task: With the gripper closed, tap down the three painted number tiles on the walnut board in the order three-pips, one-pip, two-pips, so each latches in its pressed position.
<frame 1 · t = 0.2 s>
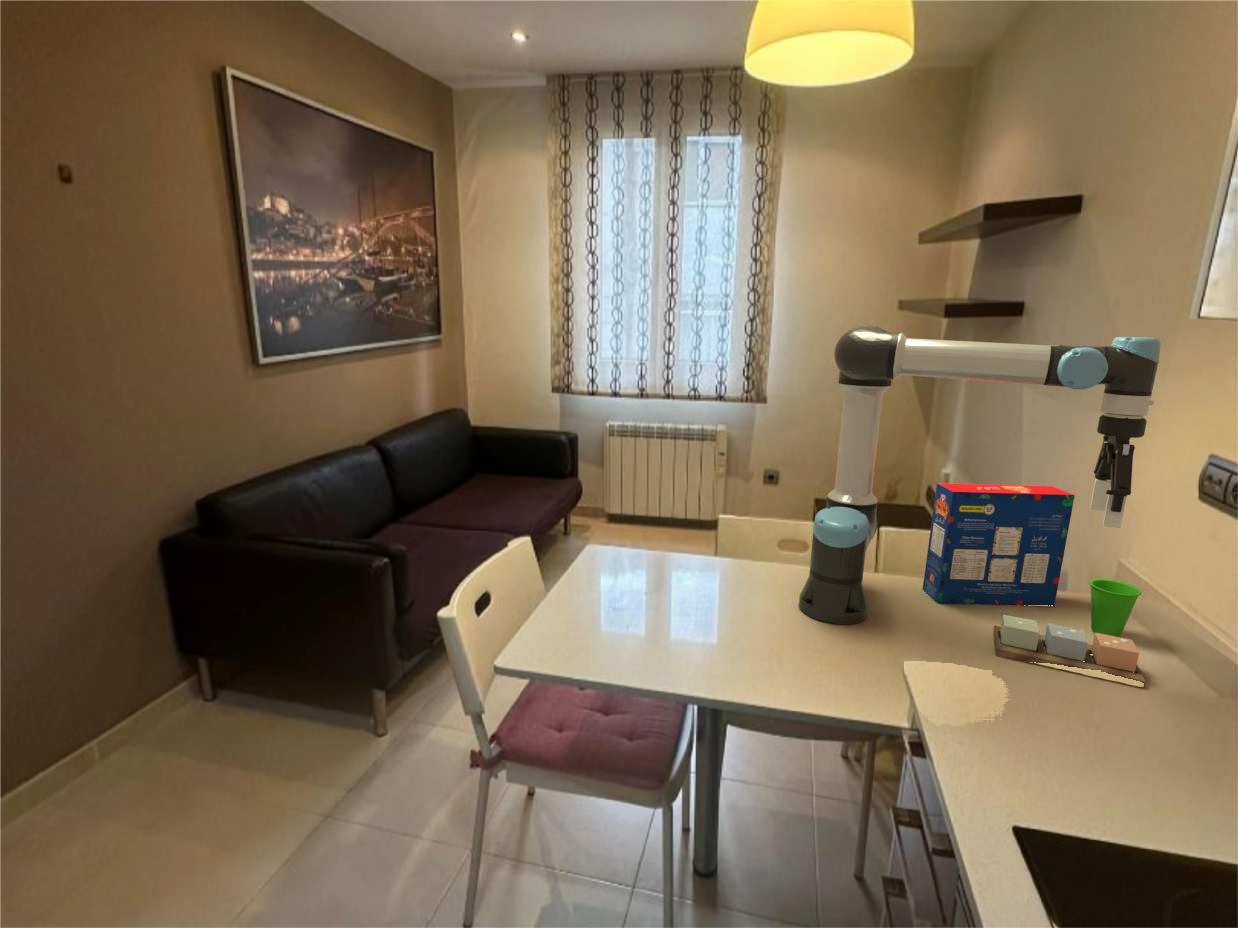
hand: (1104, 518, 132), 27 cm above the table, fingers open, 13 cm apart
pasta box: (986, 599, 158), on the table
cup: (1105, 633, 141), on the table
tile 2: (1065, 641, 129), point 4 cm above the table, slide at 0.0 cm
tile 1: (1019, 632, 132), point 4 cm above the table, slide at 0.0 cm
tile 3: (1114, 651, 125), point 4 cm above the table, slide at 0.0 cm
board: (1062, 657, 130), on the table
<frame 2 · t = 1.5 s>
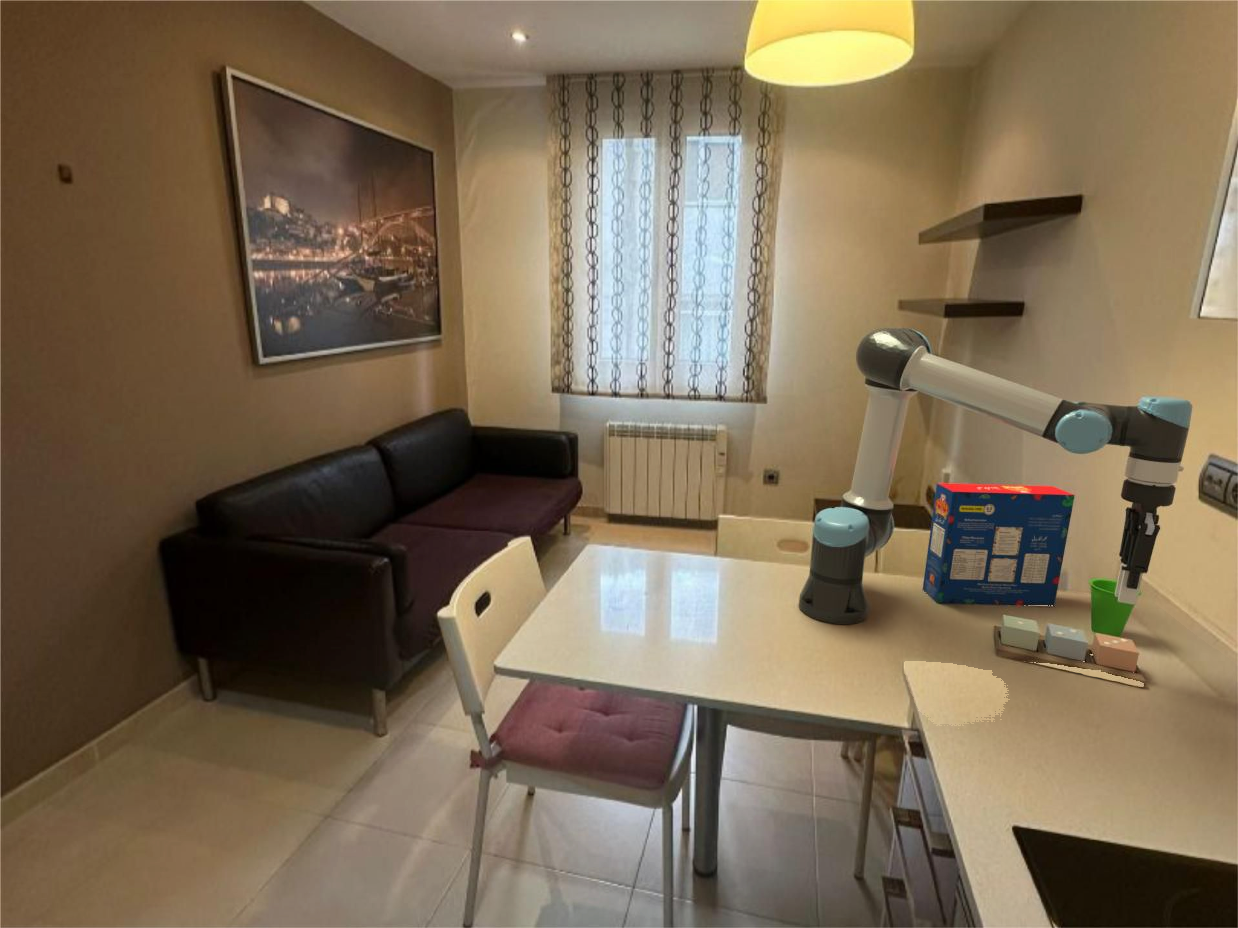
hand: (1125, 599, 123), 14 cm above the table, fingers open, 2 cm apart
nothing on the table moved.
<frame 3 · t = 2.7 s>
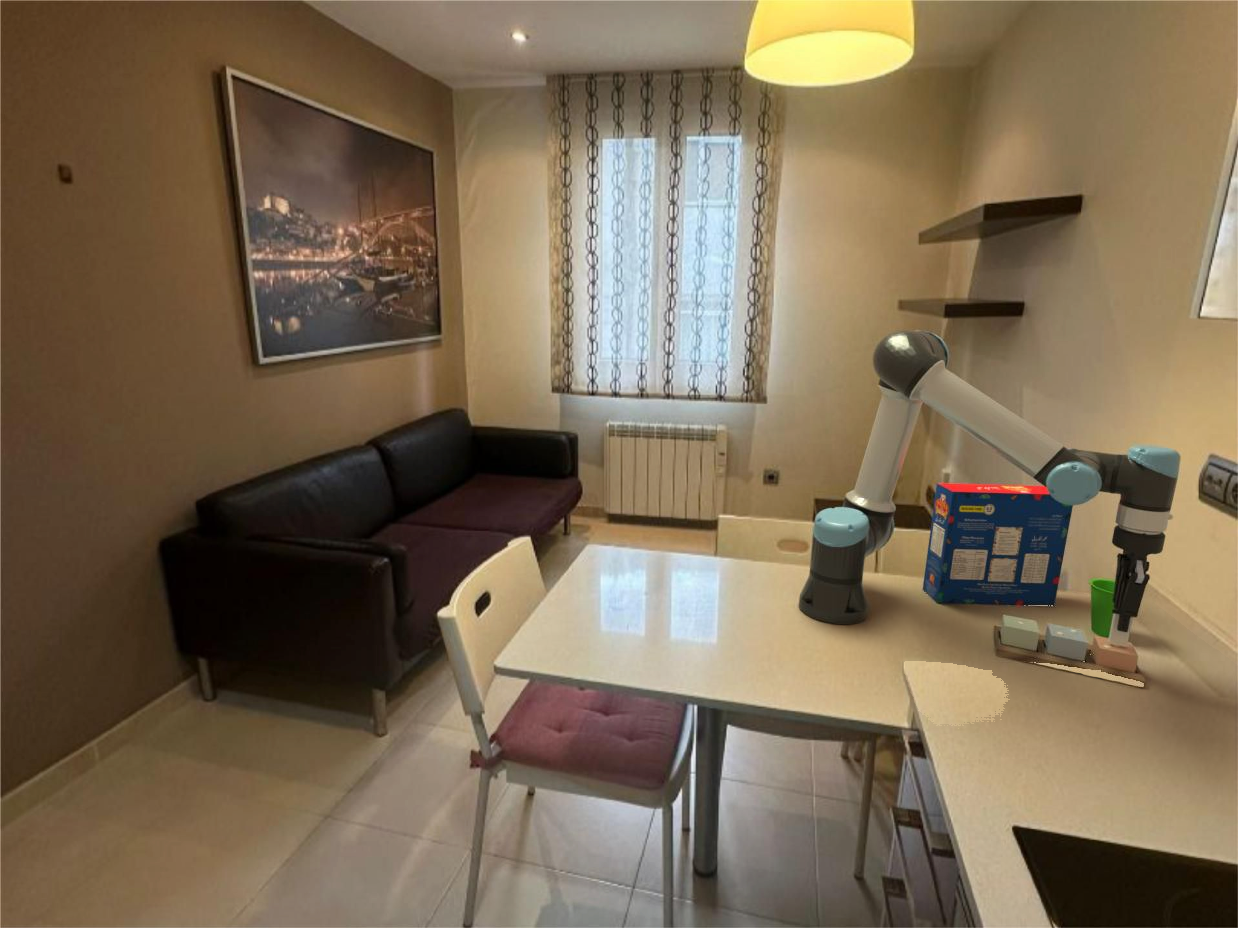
hand: (1117, 643, 125), 5 cm above the table, fingers closed
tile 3: (1113, 654, 125), point 3 cm above the table, slide at 0.6 cm, touching gripper
everything else where it was.
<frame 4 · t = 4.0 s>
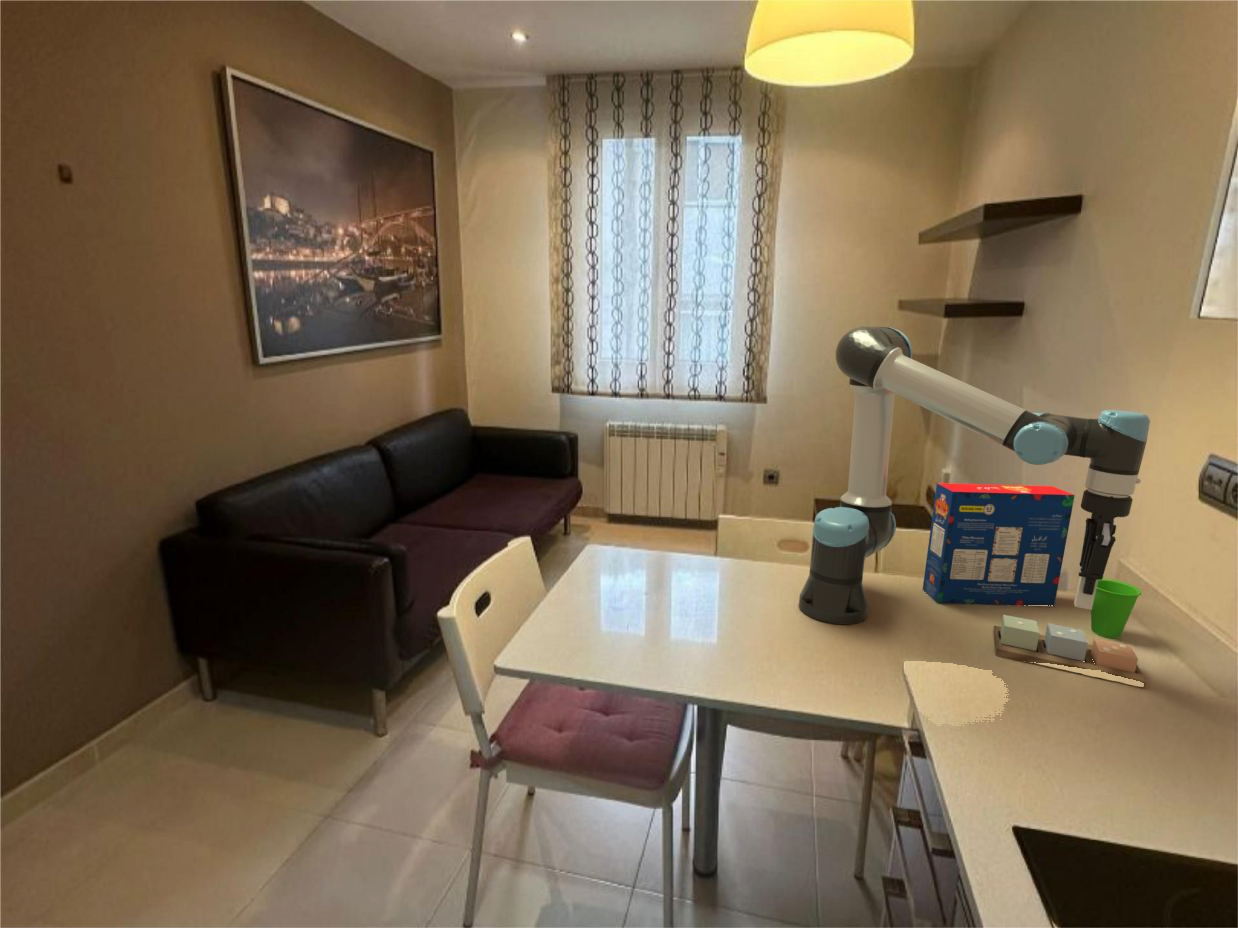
hand: (1082, 606, 127), 11 cm above the table, fingers closed
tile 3: (1113, 657, 126), point 2 cm above the table, slide at 1.2 cm
everything else where it was.
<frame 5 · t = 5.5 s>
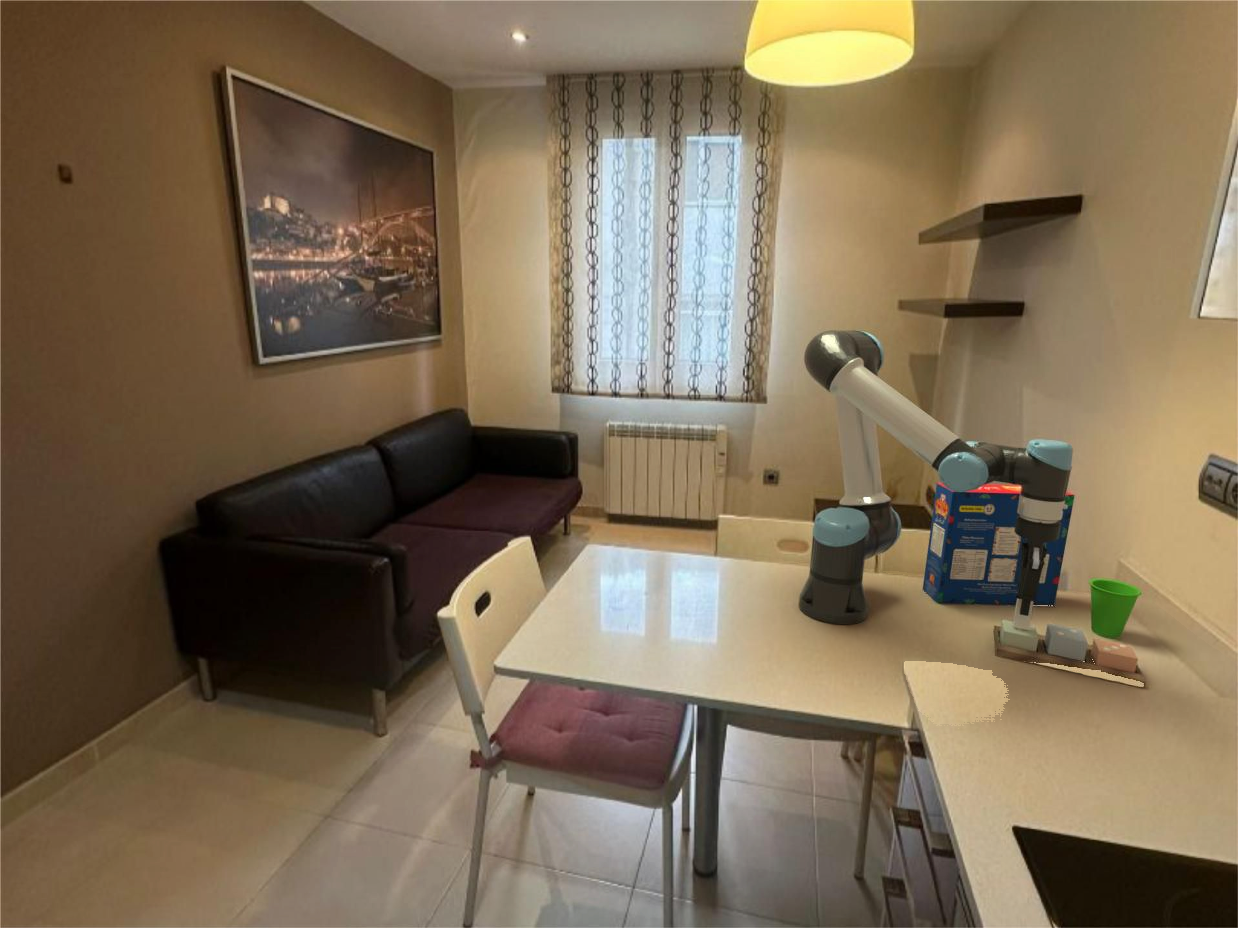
hand: (1020, 627, 132), 5 cm above the table, fingers closed
tile 1: (1018, 637, 133), point 2 cm above the table, slide at 1.2 cm, touching gripper
everything else where it was.
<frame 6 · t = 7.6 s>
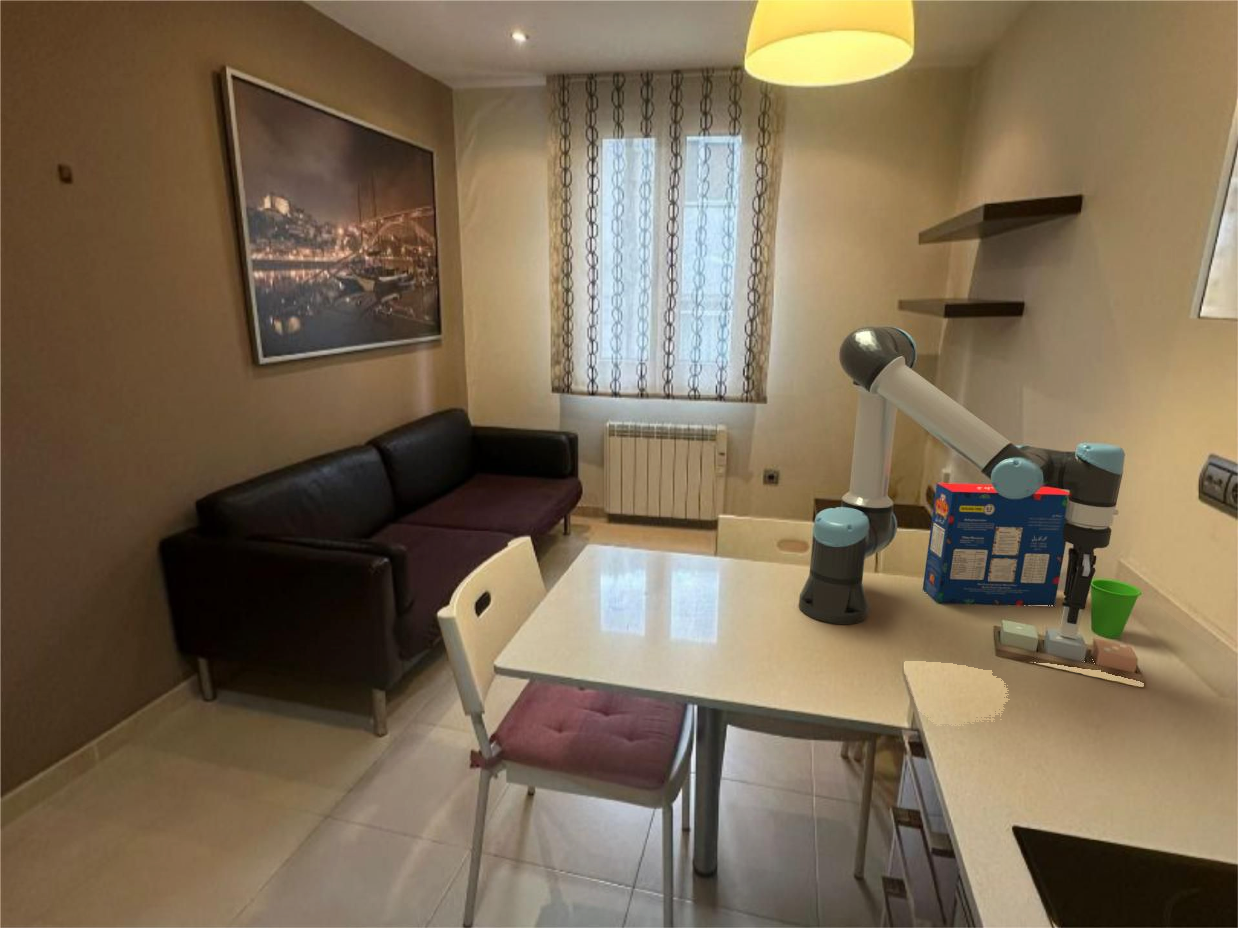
hand: (1067, 635, 128), 5 cm above the table, fingers closed
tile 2: (1064, 646, 129), point 3 cm above the table, slide at 1.0 cm, touching gripper
tile 1: (1018, 637, 133), point 2 cm above the table, slide at 1.2 cm
everything else where it was.
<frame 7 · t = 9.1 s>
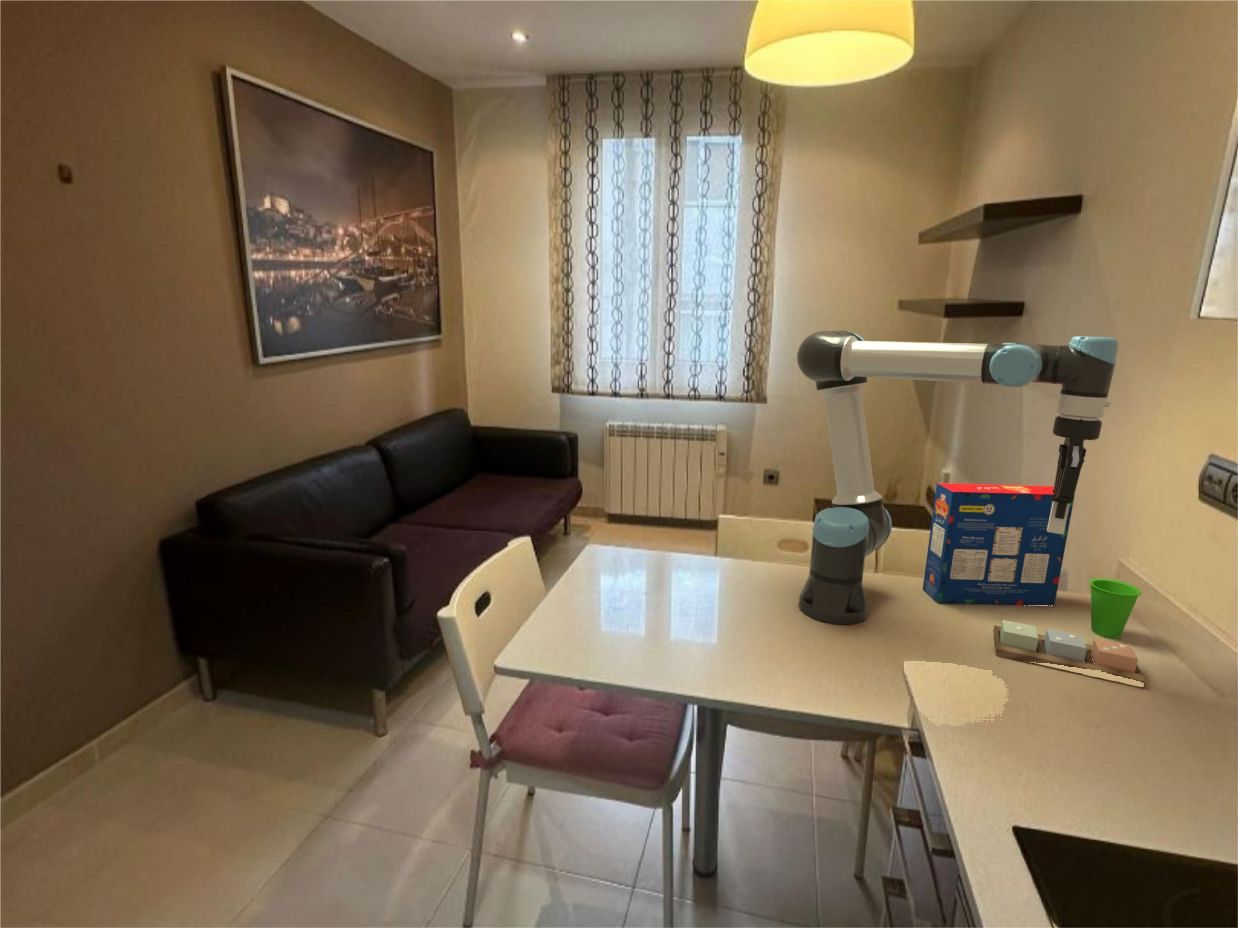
hand: (1055, 532, 130), 25 cm above the table, fingers closed
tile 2: (1064, 646, 129), point 2 cm above the table, slide at 1.2 cm
everything else where it was.
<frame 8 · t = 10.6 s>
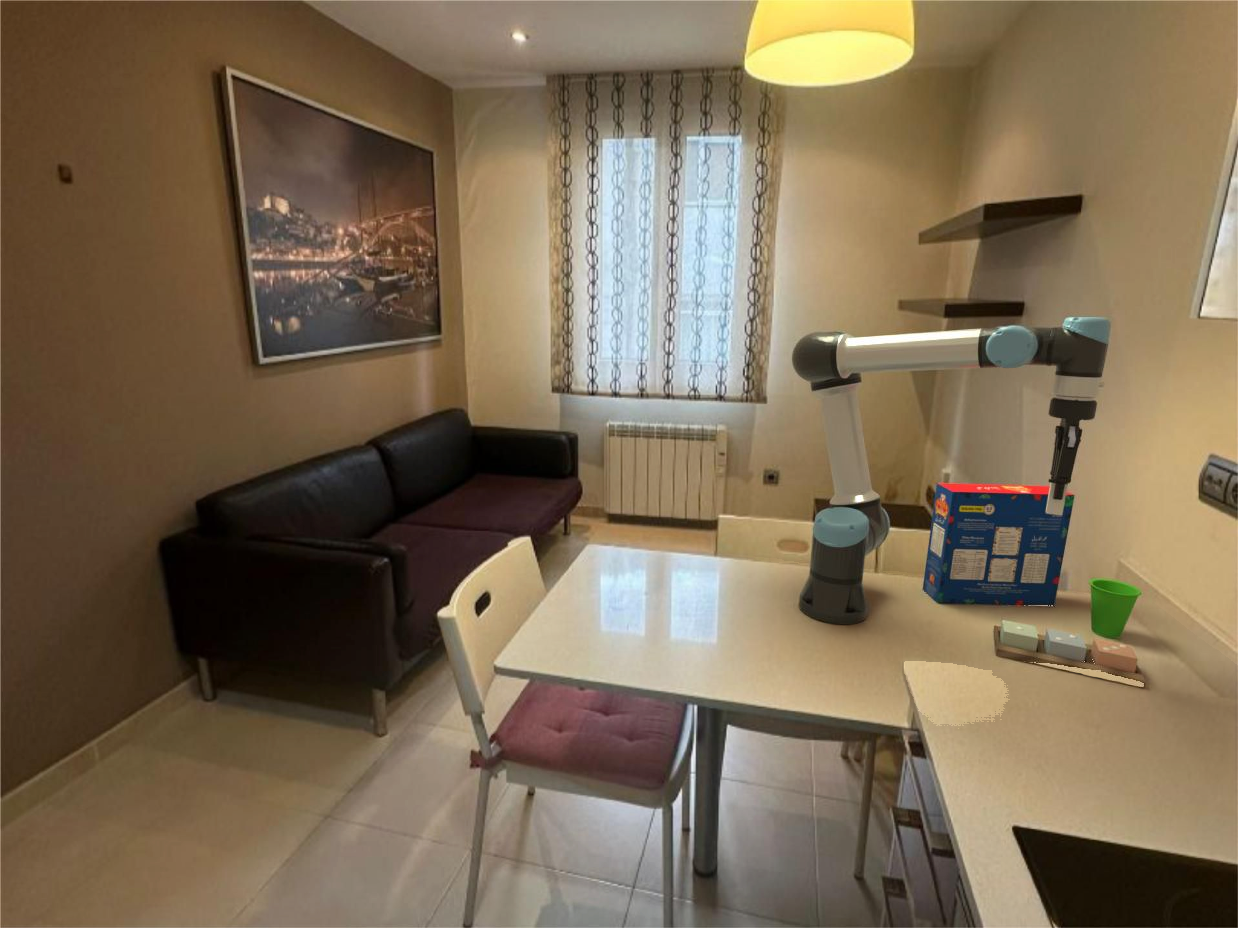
hand: (1053, 513, 130), 28 cm above the table, fingers closed
nothing on the table moved.
at the end: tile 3 slide at 1.2 cm; tile 1 slide at 1.2 cm; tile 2 slide at 1.2 cm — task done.
